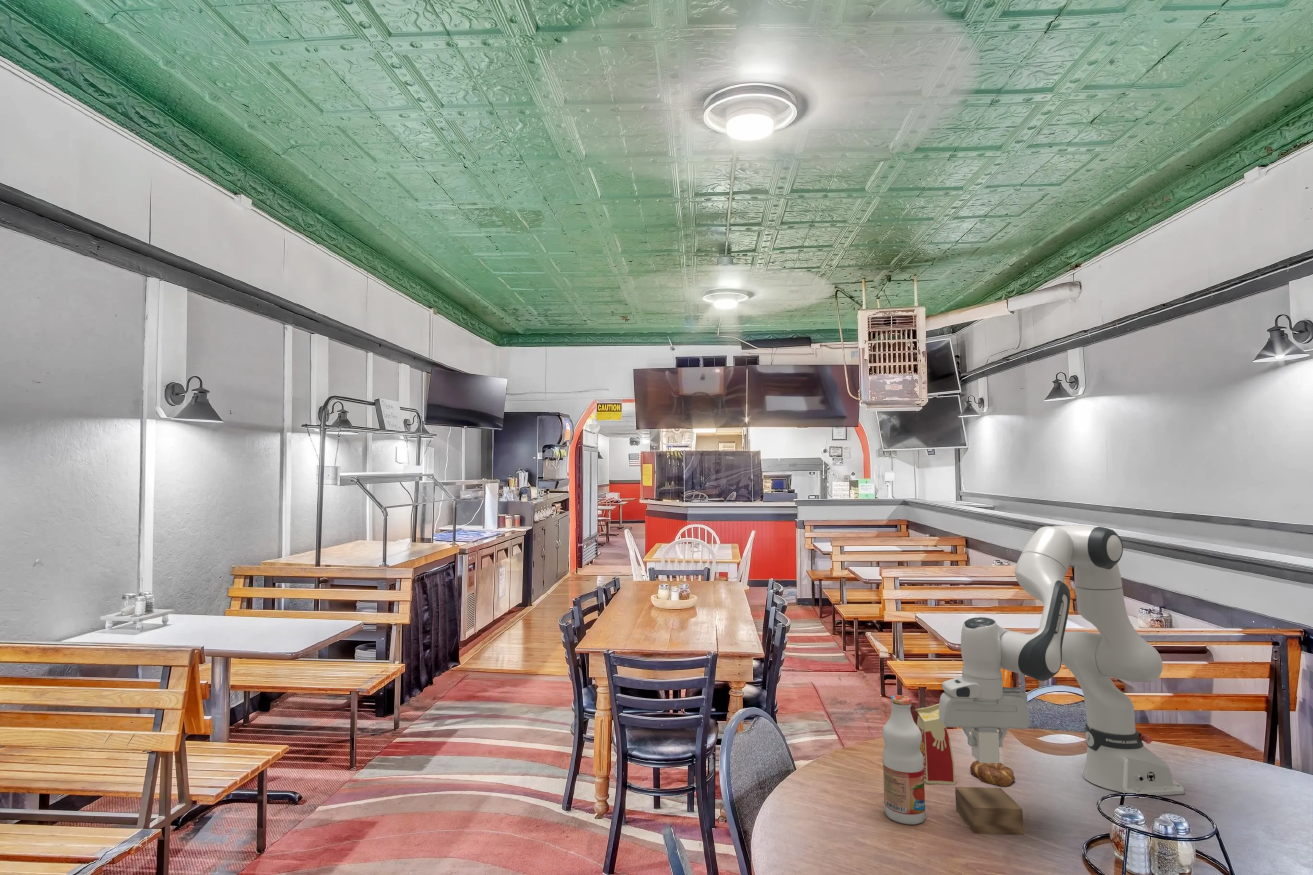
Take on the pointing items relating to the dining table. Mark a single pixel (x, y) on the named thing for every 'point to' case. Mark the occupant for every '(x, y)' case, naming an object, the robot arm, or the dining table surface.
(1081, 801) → the dining table surface
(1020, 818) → the block
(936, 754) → the milk carton
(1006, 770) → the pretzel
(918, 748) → the fruit juice
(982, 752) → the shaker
